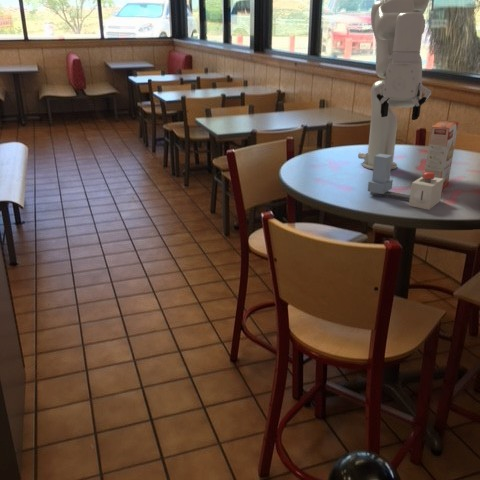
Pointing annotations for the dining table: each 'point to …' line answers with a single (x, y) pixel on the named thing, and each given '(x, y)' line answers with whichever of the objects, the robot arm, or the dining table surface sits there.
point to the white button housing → (425, 193)
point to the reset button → (428, 176)
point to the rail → (393, 195)
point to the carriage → (381, 174)
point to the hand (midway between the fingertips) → (399, 118)
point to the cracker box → (441, 149)
